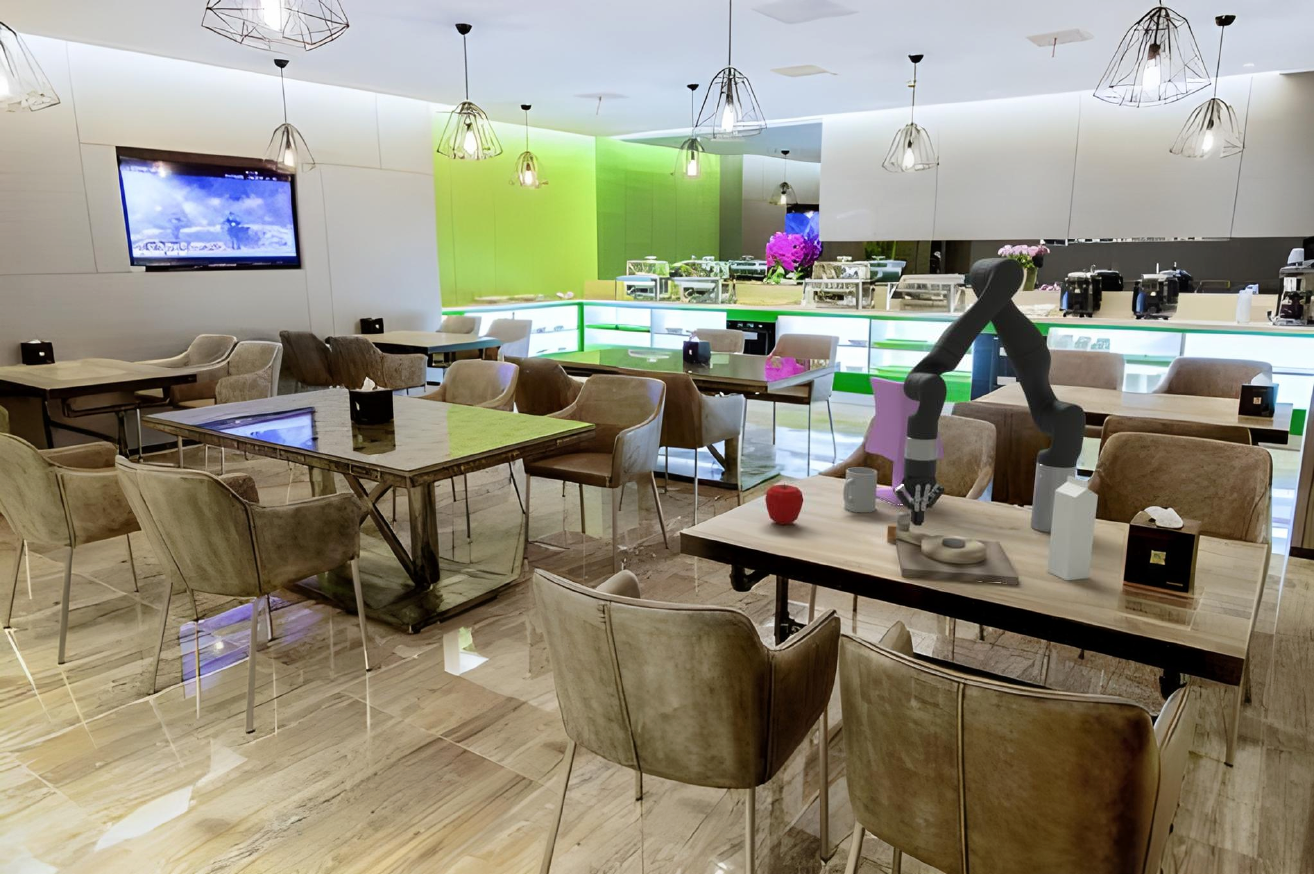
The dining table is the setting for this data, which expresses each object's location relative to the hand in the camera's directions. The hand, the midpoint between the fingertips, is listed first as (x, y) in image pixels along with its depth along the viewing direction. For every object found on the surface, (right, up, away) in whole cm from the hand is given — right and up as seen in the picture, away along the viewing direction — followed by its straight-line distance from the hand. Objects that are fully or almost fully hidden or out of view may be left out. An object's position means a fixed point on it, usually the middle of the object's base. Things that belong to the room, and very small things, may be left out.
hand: (916, 524), depth 206 cm
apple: (-30, -2, +17) cm, 35 cm away
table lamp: (+8, +3, +42) cm, 43 cm away
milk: (+28, -9, -19) cm, 35 cm away
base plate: (+4, -7, -10) cm, 13 cm away
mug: (-8, +1, +30) cm, 31 cm away
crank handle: (+2, -5, -8) cm, 10 cm away
